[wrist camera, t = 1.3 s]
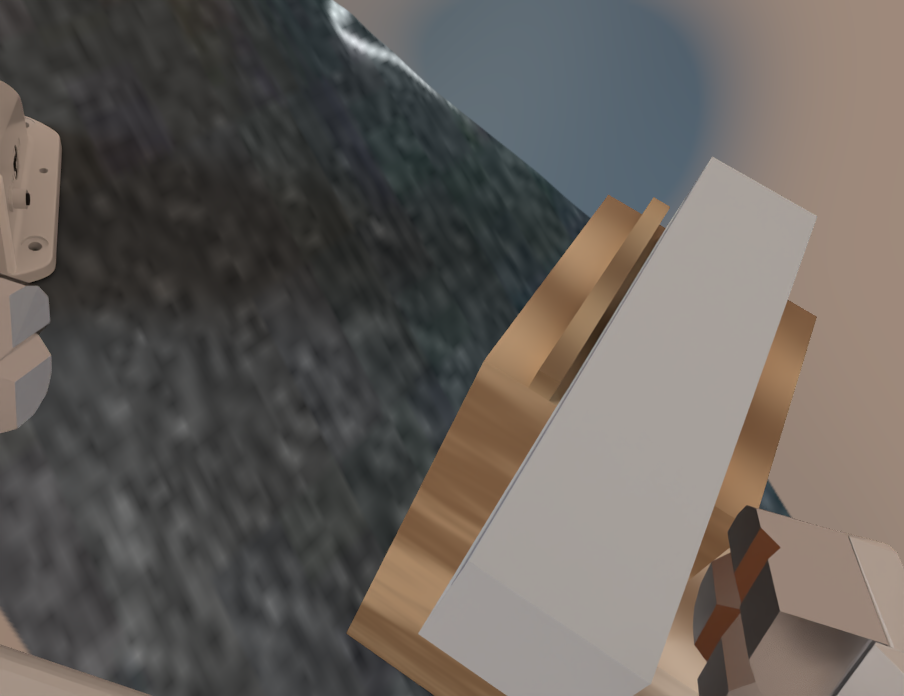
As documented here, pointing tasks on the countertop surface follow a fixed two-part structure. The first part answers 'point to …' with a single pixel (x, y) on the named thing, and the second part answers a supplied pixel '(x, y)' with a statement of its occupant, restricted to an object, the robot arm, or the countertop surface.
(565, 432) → the foil carton
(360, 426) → the countertop surface
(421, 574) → the tall wood grain block
